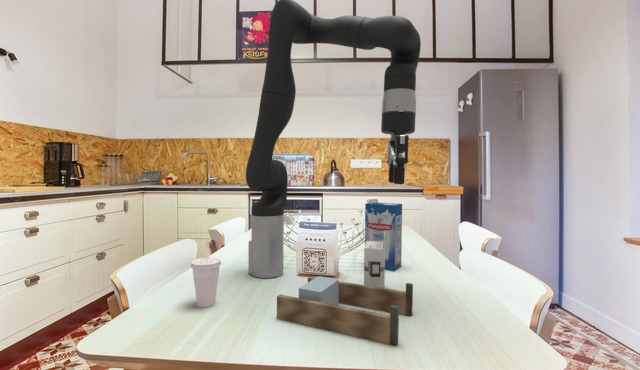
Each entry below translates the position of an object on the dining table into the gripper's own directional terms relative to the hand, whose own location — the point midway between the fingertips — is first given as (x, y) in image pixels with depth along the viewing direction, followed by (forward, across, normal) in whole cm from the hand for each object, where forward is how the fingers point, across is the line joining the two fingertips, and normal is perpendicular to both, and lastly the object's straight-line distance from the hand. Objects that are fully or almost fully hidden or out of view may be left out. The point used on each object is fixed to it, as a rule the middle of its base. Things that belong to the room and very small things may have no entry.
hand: (395, 183), depth 76 cm
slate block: (+28, +8, -16) cm, 33 cm away
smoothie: (+28, +7, -41) cm, 51 cm away
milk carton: (+28, -28, +1) cm, 39 cm away
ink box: (+27, -5, -4) cm, 28 cm away
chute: (+27, +10, -11) cm, 31 cm away
